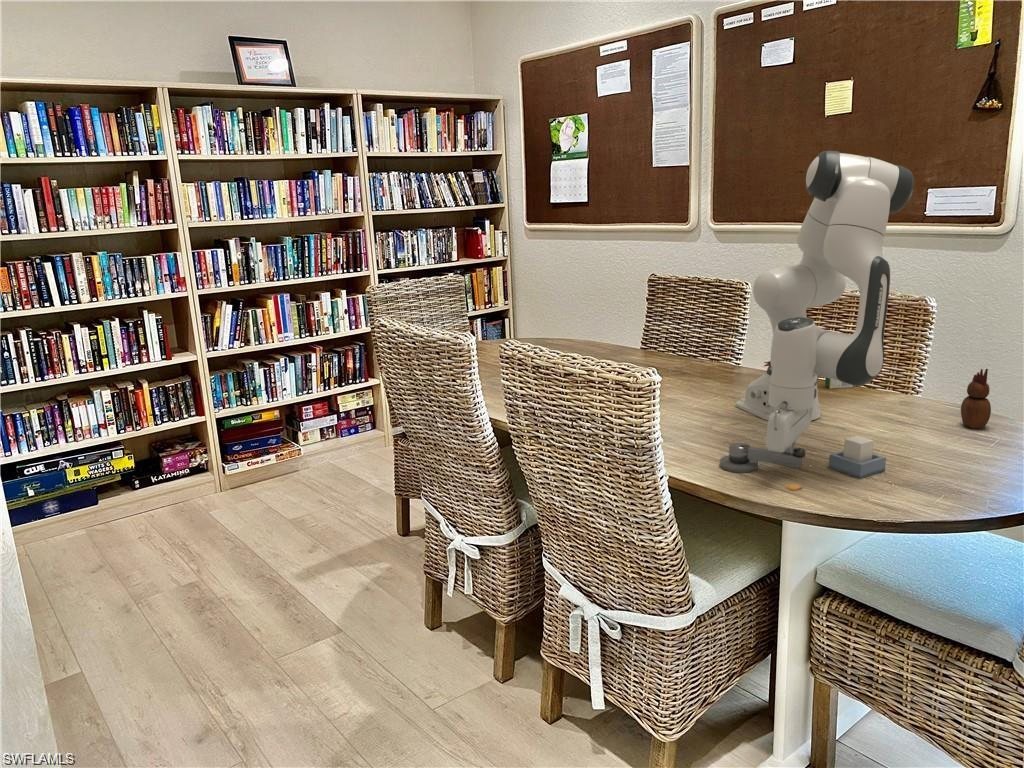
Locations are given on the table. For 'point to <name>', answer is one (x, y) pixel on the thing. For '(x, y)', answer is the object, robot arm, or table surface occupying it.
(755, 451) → the crank arm
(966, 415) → the wooden figurine
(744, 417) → the table surface
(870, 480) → the table surface
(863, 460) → the cream block
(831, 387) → the crayon box
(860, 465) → the tray
